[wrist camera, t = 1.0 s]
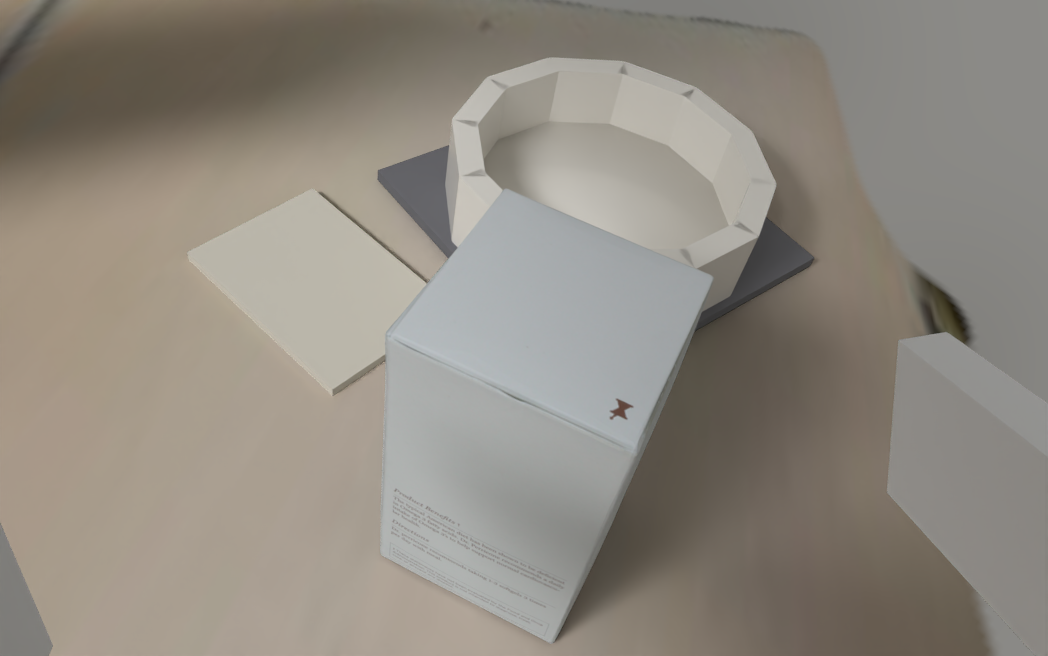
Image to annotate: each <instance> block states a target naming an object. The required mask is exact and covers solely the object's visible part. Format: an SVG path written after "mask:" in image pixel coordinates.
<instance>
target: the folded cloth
mask: <svg viewBox="0 0 1048 656" xmlns="http://www.w3.org/2000/svg"><path fill="white" fill-rule="evenodd" d="M187 255H188V260H189V261H190V262H191V263H192V264H193V265H195V266H196V267H197V268H198V269H199V270H200V271H201V272H202V273H203V274H204V275H205V276H206V277H207V278H208V279H209V280H210V281H211V282H213V283H214V284H215V285H216V286H217V287H218V288H219V289H220V290H221V291H222V292H223V293H224V294H225V295H226V296H227V297H228V298H229V299H231V300H232V301H233V302H234V303H235V304H236V305H237V306H238V307H239V308H240V309H241V310H242V311H243V312H244V313H245V314H246V315H247V316H249V317H250V318H251V319H252V320H253V321H254V322H255V323H256V324H257V325H258V326H259V327H260V328H261V329H262V330H263V331H264V332H265V333H267V334H268V335H269V336H270V337H271V338H272V339H273V340H274V341H275V342H276V343H277V344H278V345H279V346H280V347H281V348H282V349H283V350H285V351H286V352H287V353H288V354H289V355H290V356H291V357H292V358H293V359H294V360H295V361H296V362H297V363H298V364H299V365H300V366H301V367H303V368H304V369H305V370H306V371H307V372H308V373H309V374H310V375H311V376H312V377H313V378H314V379H315V380H316V381H317V382H318V383H319V384H321V385H322V386H323V387H324V388H325V389H326V390H327V391H328V392H329V393H330V394H331V395H332V396H333V395H335V394H336V393H338V392H339V391H341V390H342V389H343V388H345V387H346V386H348V385H349V384H351V383H352V382H354V381H355V380H357V379H358V378H360V377H361V376H363V375H364V374H366V373H367V372H368V371H370V370H371V369H373V368H374V367H376V366H377V365H379V364H380V363H382V362H383V361H385V360H386V359H385V334H386V331H387V330H388V329H389V328H390V327H391V326H392V324H393V323H394V322H395V321H396V320H397V319H398V317H399V316H400V315H401V314H402V313H403V312H404V310H405V309H406V308H407V307H408V306H409V304H410V303H411V302H412V301H413V300H414V298H415V297H416V296H417V295H418V294H419V293H420V291H421V290H422V289H423V288H424V287H425V286H426V284H427V283H426V282H424V281H423V280H422V279H421V278H420V277H418V276H417V275H416V274H415V273H414V272H412V271H411V270H410V269H409V268H408V267H406V266H405V265H404V264H403V263H402V262H400V261H399V260H398V259H397V258H396V257H394V256H393V255H392V254H391V253H390V252H388V251H387V250H386V249H385V248H384V247H382V246H381V245H380V244H379V243H378V242H376V241H375V240H374V239H373V238H372V237H370V236H369V235H368V234H367V233H366V232H364V231H363V230H362V229H361V228H360V227H358V226H357V225H356V224H355V223H354V222H352V221H351V220H350V219H349V218H348V217H346V216H345V215H344V214H343V213H342V212H340V211H339V210H338V209H337V208H336V207H334V206H333V205H332V204H331V203H330V202H328V201H327V200H326V199H325V198H324V197H322V196H321V195H320V194H319V193H318V192H316V191H315V190H314V189H313V188H312V189H310V190H308V191H306V192H304V193H302V194H300V195H298V196H297V197H295V198H293V199H291V200H289V201H287V202H285V203H283V204H281V205H279V206H277V207H275V208H273V209H271V210H269V211H267V212H265V213H263V214H261V215H259V216H257V217H255V218H253V219H251V220H249V221H247V222H245V223H243V224H241V225H239V226H237V227H235V228H234V229H232V230H230V231H228V232H226V233H224V234H222V235H220V236H218V237H216V238H214V239H212V240H210V241H208V242H206V243H204V244H202V245H200V246H198V247H196V248H194V249H192V250H190V251H188V252H187Z"/></svg>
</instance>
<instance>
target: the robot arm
mask: <svg viewBox="0 0 1048 656" xmlns="http://www.w3.org/2000/svg"><path fill="white" fill-rule="evenodd" d="M887 493H888V494H889V495H890V496H891V498H892V499H893V500H894V501H895V502H896V503H897V504H898V505H899V506H900V507H901V509H902V510H903V511H904V512H905V513H906V514H907V515H908V516H909V517H910V518H911V520H912V521H913V522H914V523H915V524H916V525H917V526H918V527H919V528H920V530H921V531H922V532H923V533H924V534H925V535H926V536H927V537H928V538H929V539H930V541H931V542H932V543H933V544H934V545H935V546H936V547H937V548H938V549H939V550H940V552H941V553H942V554H943V555H944V556H945V557H946V558H947V559H948V560H949V561H950V563H951V564H952V565H953V566H954V567H955V568H956V569H957V570H958V571H959V572H960V574H961V575H962V576H963V577H964V578H965V579H966V580H967V581H968V582H969V584H970V585H971V586H972V587H973V588H974V589H975V590H976V591H977V592H978V593H979V595H980V596H981V597H982V598H983V599H984V600H985V601H986V602H987V603H988V604H989V606H990V607H991V608H992V609H993V610H994V611H995V612H996V613H997V614H998V615H999V616H1000V618H1001V619H1002V620H1003V621H1004V622H1005V623H1006V624H1007V625H1008V626H1009V628H1010V629H1011V630H1012V631H1013V632H1014V633H1015V634H1016V635H1017V636H1018V637H1019V639H1020V640H1021V641H1022V642H1023V643H1024V644H1025V645H1026V646H1027V647H1028V648H1029V650H1031V652H1032V653H1033V654H1034V655H1035V656H1048V403H1047V402H1045V401H1044V400H1043V399H1041V398H1040V397H1038V396H1037V395H1035V394H1034V393H1032V392H1031V391H1030V390H1028V389H1027V388H1025V387H1024V386H1023V385H1021V384H1020V383H1018V382H1017V381H1016V380H1014V379H1013V378H1011V377H1010V376H1008V375H1007V374H1006V373H1004V372H1003V371H1001V370H1000V369H999V368H997V367H996V366H994V365H993V364H991V363H990V362H988V361H987V360H986V359H984V358H983V357H981V356H980V355H979V354H977V353H976V352H974V351H973V350H972V349H970V348H969V347H967V346H966V345H964V344H963V343H962V342H960V341H959V340H957V339H956V338H954V337H953V336H952V335H950V334H949V333H947V332H944V333H938V334H932V335H926V336H920V337H914V338H908V339H902V340H898V353H897V366H896V379H895V393H894V406H893V419H892V433H891V446H890V459H889V472H888V486H887ZM52 647H53V645H52V642H51V640H50V638H49V635H48V633H47V631H46V628H45V626H44V624H43V621H42V619H41V617H40V614H39V612H38V610H37V607H36V605H35V603H34V600H33V598H32V596H31V593H30V591H29V589H28V586H27V584H26V582H25V579H24V577H23V575H22V572H21V570H20V568H19V565H18V563H17V561H16V558H15V556H14V554H13V551H12V549H11V547H10V544H9V542H8V540H7V537H6V535H5V533H4V530H3V528H2V526H1V523H0V656H49V653H50V651H51V649H52Z"/></svg>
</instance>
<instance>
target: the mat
mask: <svg viewBox="0 0 1048 656" xmlns="http://www.w3.org/2000/svg"><path fill="white" fill-rule="evenodd" d="M448 153H449V145H448V146H446V147H443V148H440V149H437V150H434V151H431V152H429V153H426V154H423V155H420V156H417V157H414V158H412V159H409V160H406V161H403V162H400V163H397V164H395V165H392V166H389V167H386V168H383V169H380V170H378V180H379V182H380V183H381V184H382V185H383V186H384V187H385V188H386V189H387V190H388V192H389V193H390V194H391V195H392V196H393V197H394V198H395V199H396V200H397V202H398V203H399V204H400V205H401V206H402V207H403V208H404V209H405V210H406V212H407V213H408V214H409V215H410V216H411V217H412V218H413V219H414V220H415V222H416V223H417V224H418V225H419V226H420V227H421V228H422V229H423V230H424V232H425V233H426V234H427V235H428V236H429V237H430V238H431V239H432V240H433V241H434V243H435V244H436V245H437V246H438V247H439V248H440V249H441V250H442V251H443V253H444V254H445V255H446V256H447V257H448V258H449V257H450V256H451V255H452V254H453V252H454V251H455V250H456V249H457V248H458V247H457V246H456V245H455V244H454V243H453V242H452V240H451V232H450V223H449V214H448V205H447V196H446V187H445V181H446V172H447V162H448ZM813 260H814V257H813V256H812V255H811V254H809V253H808V252H807V251H806V250H805V249H803V248H802V247H801V246H800V245H799V244H797V243H796V242H795V241H794V240H793V239H792V238H790V237H789V236H788V235H787V234H786V233H784V232H783V231H782V230H781V229H780V228H778V227H777V226H776V225H775V224H774V223H772V222H771V221H770V220H769V219H768V218H767V217H766V218H765V220H764V223H763V226H762V229H761V232H760V235H759V237H758V239H757V241H756V243H755V246H754V248H753V250H752V252H751V254H750V256H749V258H748V260H747V262H746V264H745V266H744V269H743V271H742V273H741V275H740V277H739V279H738V281H737V283H736V285H735V287H734V289H733V292H732V294H731V296H730V297H728V298H726V299H724V300H723V301H721V302H719V303H717V304H715V305H714V306H712V307H710V308H708V309H706V310H705V311H703V312H702V313H701V316H700V318H699V321H698V323H697V326H696V328H695V331H696V330H697V329H699V328H701V327H703V326H705V325H706V324H708V323H710V322H712V321H713V320H715V319H717V318H719V317H720V316H722V315H724V314H726V313H728V312H729V311H731V310H733V309H735V308H736V307H738V306H740V305H742V304H743V303H745V302H747V301H749V300H751V299H752V298H754V297H756V296H758V295H759V294H761V293H763V292H765V291H766V290H768V289H770V288H772V287H774V286H775V285H777V284H779V283H781V282H782V281H784V280H786V279H788V278H789V277H791V276H793V275H795V274H797V273H798V272H800V271H802V270H804V269H805V268H807V267H809V266H810V265H811V263H812V261H813Z"/></svg>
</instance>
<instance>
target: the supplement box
mask: <svg viewBox="0 0 1048 656" xmlns="http://www.w3.org/2000/svg"><path fill="white" fill-rule="evenodd" d="M713 281H714V278H713V276H712V275H710V274H707V273H705V272H703V271H700V270H698V269H695V268H693V267H691V266H688V265H686V264H683V263H681V262H678V261H676V260H674V259H671V258H669V257H666V256H664V255H661V254H659V253H657V252H654V251H652V250H650V249H647V248H645V247H642V246H640V245H638V244H635V243H633V242H631V241H628V240H626V239H624V238H621V237H619V236H617V235H614V234H612V233H610V232H607V231H605V230H602V229H600V228H598V227H595V226H593V225H591V224H588V223H586V222H584V221H581V220H579V219H577V218H574V217H572V216H569V215H567V214H565V213H562V212H560V211H558V210H555V209H553V208H551V207H548V206H546V205H544V204H541V203H539V202H537V201H535V200H532V199H530V198H528V197H525V196H523V195H521V194H518V193H516V192H514V191H511V190H509V189H503V191H502V192H501V194H500V195H499V196H498V197H497V199H496V200H495V201H494V202H493V204H492V205H491V206H490V208H489V209H488V210H487V211H486V213H485V214H484V215H483V216H482V218H481V219H480V220H479V222H478V223H477V224H476V225H475V227H474V228H473V229H472V230H471V232H470V233H469V234H468V235H467V237H466V238H465V239H464V240H463V242H462V243H461V244H460V245H459V247H458V248H457V249H456V250H455V251H454V252H453V254H452V255H451V256H450V257H449V258H448V259H447V261H446V262H445V263H444V264H443V265H442V267H441V268H440V269H439V270H438V271H437V273H436V274H435V275H434V276H433V277H432V278H431V280H430V281H429V282H428V283H427V284H426V286H425V287H424V288H423V289H422V290H421V291H420V293H419V294H418V295H417V296H416V297H415V298H414V300H413V301H412V302H411V303H410V304H409V306H408V307H407V308H406V309H405V310H404V312H403V313H402V314H401V315H400V316H399V317H398V319H397V320H396V321H395V322H394V323H393V324H392V326H391V327H390V328H389V329H388V330H387V331H386V334H385V359H386V374H385V410H384V435H383V461H382V494H381V544H380V553H381V555H382V556H383V557H385V558H387V559H389V560H391V561H393V562H395V563H397V564H399V565H401V566H402V567H404V568H406V569H408V570H410V571H412V572H414V573H416V574H417V575H419V576H421V577H423V578H425V579H427V580H429V581H431V582H433V583H435V584H437V585H439V586H441V587H443V588H444V589H446V590H448V591H450V592H452V593H454V594H456V595H458V596H460V597H462V598H464V599H466V600H468V601H470V602H471V603H473V604H475V605H477V606H479V607H481V608H483V609H485V610H487V611H489V612H491V613H493V614H495V615H497V616H498V617H500V618H502V619H504V620H506V621H508V622H510V623H512V624H514V625H516V626H518V627H520V628H522V629H524V630H526V631H528V632H529V633H531V634H533V635H535V636H537V637H539V638H541V639H543V640H545V641H547V642H548V643H551V644H552V643H554V641H555V640H556V638H557V636H558V634H559V632H560V630H561V628H562V626H563V624H564V622H565V620H566V618H567V616H568V614H569V612H570V610H571V608H572V606H573V604H574V602H575V600H576V598H577V596H578V594H579V592H580V590H581V588H582V586H583V584H584V582H585V580H586V578H587V576H588V574H589V572H590V570H591V568H592V566H593V563H594V561H595V559H596V557H597V555H598V553H599V551H600V549H601V547H602V544H603V542H604V540H605V538H606V536H607V534H608V531H609V529H610V527H611V525H612V523H613V521H614V518H615V516H616V514H617V511H618V509H619V507H620V504H621V502H622V500H623V497H624V495H625V493H626V491H627V488H628V486H629V484H630V482H631V479H632V477H633V475H634V473H635V471H636V468H637V466H638V464H639V462H640V459H641V457H642V455H643V453H644V451H645V448H646V446H647V444H648V442H649V439H650V437H651V435H652V432H653V430H654V428H655V425H656V423H657V421H658V418H659V416H660V414H661V412H662V409H663V407H664V405H665V402H666V400H667V398H668V395H669V393H670V391H671V388H672V386H673V384H674V381H675V379H676V377H677V374H678V372H679V369H680V367H681V364H682V362H683V359H684V356H685V354H686V351H687V349H688V346H689V344H690V341H691V339H692V336H693V333H694V331H695V328H696V326H697V323H698V321H699V318H700V316H701V313H702V310H703V308H704V305H705V303H706V300H707V298H708V295H709V292H710V289H711V286H712V284H713Z"/></svg>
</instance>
